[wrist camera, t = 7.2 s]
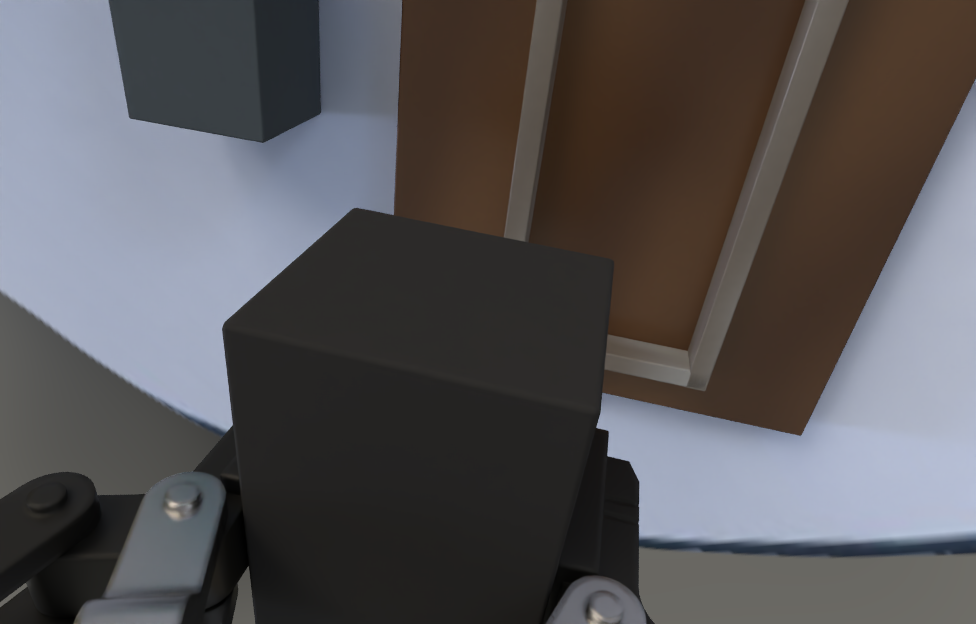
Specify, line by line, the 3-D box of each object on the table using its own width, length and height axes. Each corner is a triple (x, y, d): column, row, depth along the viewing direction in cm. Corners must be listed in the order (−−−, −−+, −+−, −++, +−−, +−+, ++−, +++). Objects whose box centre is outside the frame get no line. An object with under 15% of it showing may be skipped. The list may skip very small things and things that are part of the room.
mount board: (396, 333, 29) (375, 365, 27) (437, -519, 16) (403, -598, 14) (795, 418, 27) (809, 461, 25) (1222, -482, 14) (1335, -566, 12)
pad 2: (349, 526, 17) (261, 697, 13) (353, 205, 12) (218, 323, 8) (536, 575, 16) (502, 770, 12) (615, 257, 11) (601, 411, 8)
